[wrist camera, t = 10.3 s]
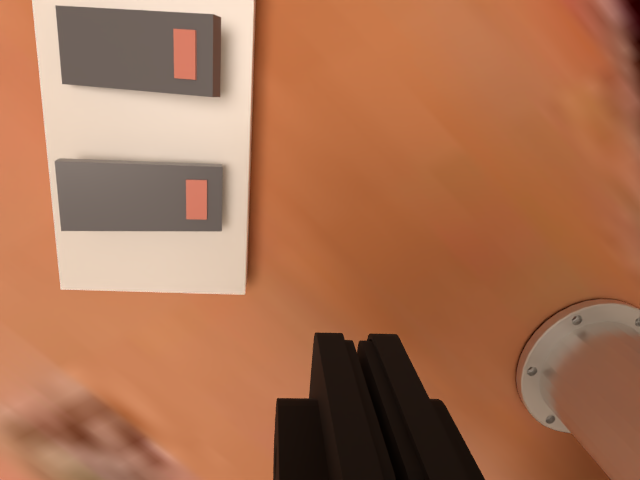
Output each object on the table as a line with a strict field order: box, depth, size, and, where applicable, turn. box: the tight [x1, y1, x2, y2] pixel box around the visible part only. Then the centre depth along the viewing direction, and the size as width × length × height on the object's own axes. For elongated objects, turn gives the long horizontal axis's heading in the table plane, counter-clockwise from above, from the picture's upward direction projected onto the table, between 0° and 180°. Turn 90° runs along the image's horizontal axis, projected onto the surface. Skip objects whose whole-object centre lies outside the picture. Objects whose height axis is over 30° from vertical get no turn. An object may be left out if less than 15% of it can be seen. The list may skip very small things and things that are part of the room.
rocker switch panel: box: [32, 0, 256, 295], centre depth 28 cm, size 12×30×4 cm, turn 175°
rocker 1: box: [55, 5, 221, 97], centre depth 26 cm, size 9×4×1 cm, turn 86°
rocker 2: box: [55, 158, 223, 231], centre depth 28 cm, size 9×4×1 cm, turn 85°
